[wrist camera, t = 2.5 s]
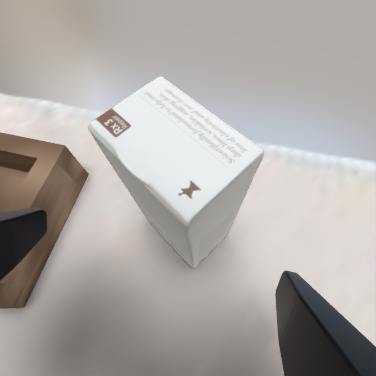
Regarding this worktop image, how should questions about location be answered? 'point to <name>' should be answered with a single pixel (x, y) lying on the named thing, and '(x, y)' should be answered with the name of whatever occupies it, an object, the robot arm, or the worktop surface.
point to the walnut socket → (36, 202)
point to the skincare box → (178, 165)
